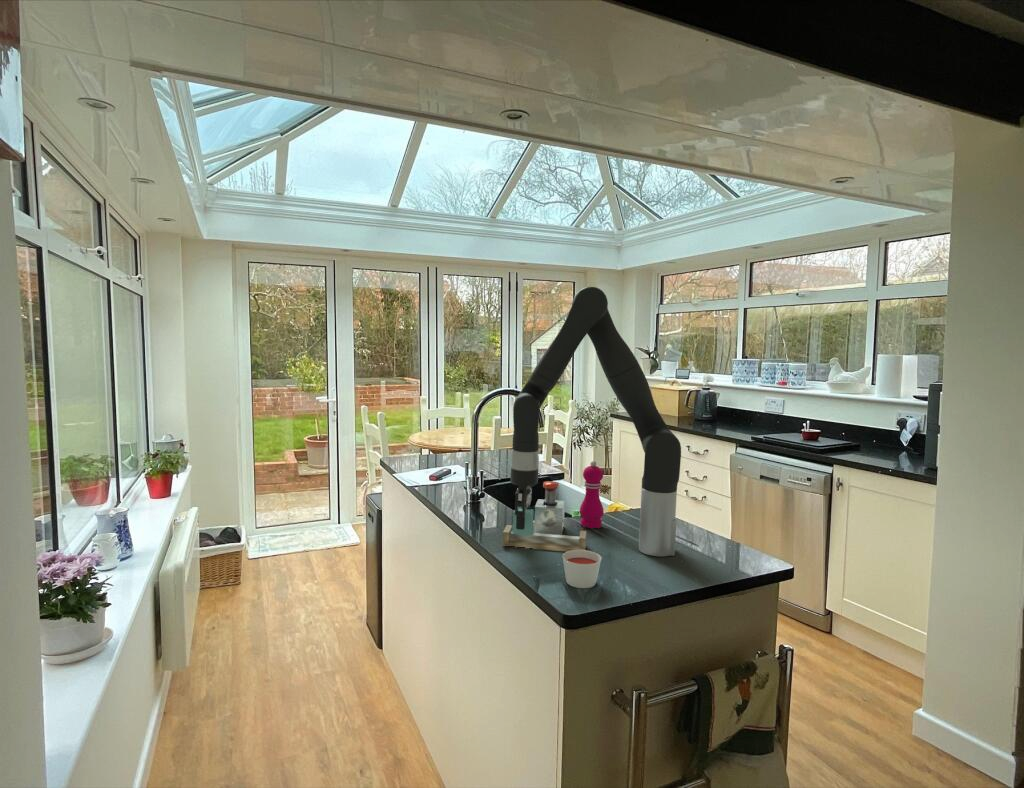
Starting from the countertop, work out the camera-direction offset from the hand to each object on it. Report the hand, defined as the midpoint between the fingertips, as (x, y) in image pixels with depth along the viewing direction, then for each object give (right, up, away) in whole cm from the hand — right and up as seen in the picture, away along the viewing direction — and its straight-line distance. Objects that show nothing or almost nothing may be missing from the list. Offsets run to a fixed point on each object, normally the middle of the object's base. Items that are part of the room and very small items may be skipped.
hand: (522, 524), depth 165 cm
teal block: (0, -2, 0) cm, 2 cm away
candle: (+13, -9, -24) cm, 29 cm away
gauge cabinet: (+8, -5, +12) cm, 15 cm away
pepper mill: (+21, -4, +17) cm, 28 cm away
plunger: (+8, 0, +12) cm, 14 cm away
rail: (+6, -6, 0) cm, 8 cm away
